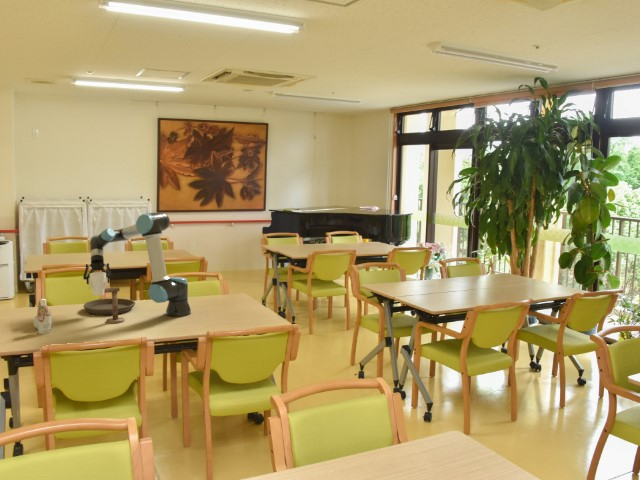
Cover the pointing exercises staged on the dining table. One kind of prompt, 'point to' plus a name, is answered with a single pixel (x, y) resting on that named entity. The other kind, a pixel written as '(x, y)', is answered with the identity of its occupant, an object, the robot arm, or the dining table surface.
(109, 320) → the walnut post
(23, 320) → the dining table surface
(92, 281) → the foam cup
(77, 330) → the dining table surface
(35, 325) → the cosmetic set
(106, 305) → the plant saucer
